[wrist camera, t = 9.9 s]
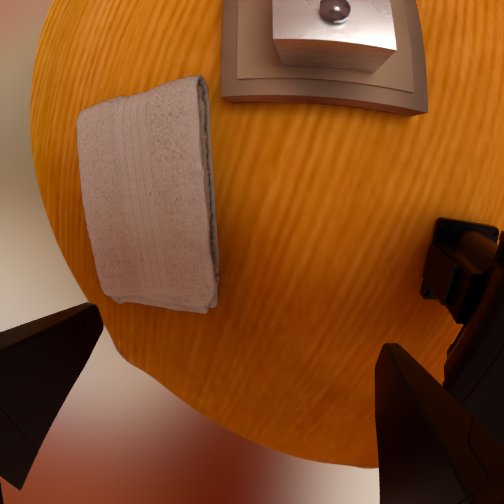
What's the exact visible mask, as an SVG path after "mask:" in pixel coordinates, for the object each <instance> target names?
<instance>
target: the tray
mask: <svg viewBox="0 0 504 504" xmlns="http://www.w3.org/2000/svg"><path fill="white" fill-rule="evenodd" d="M390 5H391V10H392V17H393V23H394V31H395V39H396V48H397V50H396V51H395V52H394V53H393V55H392V56H391V57H390V58H389V59H388V60H387V61H386V62H385V63H384V64H383V65H382V66H381V67H380V68H379V69H378V70H377V71H376V72H375V73H374V74H373V73H367V72H359V71H351V70H342V69H332V68H318V67H295V66H283V64H282V61H281V58H280V56H279V53H278V50H277V48H276V45H275V42H274V40H273V5H272V0H223V20H222V56H221V97H223V98H225V99H227V100H229V101H231V102H233V103H250V102H287V103H312V104H326V105H338V106H348V107H356V108H364V109H372V110H378V111H385V112H390V113H396V114H402V115H407V116H415V115H420V114H424V113H428V99H427V77H426V64H425V54H424V46H423V38H422V31H421V25H420V19H419V14H418V9H417V4H416V0H390Z"/></svg>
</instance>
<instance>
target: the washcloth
mask: <svg viewBox="0 0 504 504" xmlns="http://www.w3.org/2000/svg"><path fill="white" fill-rule="evenodd" d="M209 106H210V104H209V95H208V88H207V84H206V81H205V80H204V78H203V76H202V75H199V76H188V77H187V78H181V79H178V80H173V81H171V82H167V83H165V84H162V85H160V86H158V87H154V88H153V89H151V90H150V91H147V92H143V93H139V94H136V95H132V96H130V97H125V96H120V97H117V98H113V99H111V100H110V99H108V100H107V101H104V102H101V103H98V104H96V105H94V106H91V107H88V108H86V109H85V110H82V112H80V114H79V117H78V119H77V122H76V123H77V144H78V147H77V148H78V155H79V160H80V163H79V168H80V178H81V191H82V204H83V205H84V209H85V219H86V223H87V230H88V232H89V238H90V241H91V247H92V252H93V255H94V259H95V265H96V270H97V271H96V272H97V274H98V275H97V276H98V279H99V280H100V286H101V289H102V290H103V292H104V293H105V295H106V296H110V297H111V298H112V299H113V300H114V301H115V302H117V303H120V304H122V303H124V302H132V303H141V304H144V305H151V306H157V307H162V308H168V309H173V310H180V311H190V312H198V313H202V314H206V313H207V312H208V309H209V308H214V307H216V306H217V304H218V300H217V299H218V295H217V291H218V288H217V286H218V283H219V276H218V275H217V274H218V272H219V269H218V264H219V250H218V235H217V224H216V211H215V195H214V181H213V166H212V154H211V137H210V108H209Z"/></svg>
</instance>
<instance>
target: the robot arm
mask: <svg viewBox="0 0 504 504" xmlns="http://www.w3.org/2000/svg"><path fill="white" fill-rule="evenodd" d="M443 222H444V226H443V227H441V224H442V223H443ZM494 231H495V232H494ZM493 232H494V234H493ZM498 236H499V230H498V228H496V227H495V226H491V225H485V224H480V223H474V222H468V221H462V220H455V219H449V218H439V219H438V220H437V222H436V226H435V231H434V236H433V241H432V245H431V246H430V247H429V252H428V256H427V260H426V264H425V268H424V272H423V278H424V279H423V283H422V286H421V290H420V294H421V296H422V297H423V298H424V299H438V300H439V301H440V303H441V305H443V306H446V308H447V309H448V311H449V312H450V314H451V315H452V317H453V319H454V320H455V322H456V323H457V324H463V327H462V329H461V330H460V332H459V334H458V336H457V337H456V339H455V341H454V343H453V344H451V345H450V347H449V348H448V350H447V360H446V362H445V365H444V377H445V380H444V382H443V383H442V385H443V386H442V385H441V384H440V383H438V382H437V381H436V380H435V379H434V378H433V377H432V376H431V375H430V374H429V373H428V372H427V371H426V370H425V369H424V368H423V367H422V366H421V365H420V364H419V363H418V362H417V361H416V360H415V359H414V358H413V357H412V356H411V355H410V354H409V353H408V352H407V351H405V350H404V349H403V348H402V347H401V346H400V345H399V344H397V343H385V344H384V345H383V346H382V349H381V351H380V354H379V357H378V360H377V362H376V365H375V422H376V433H377V445H378V460H379V482H380V504H504V231H501V234H500V237H499V239H500V242H499V245H498V244H497V240H498ZM426 291H428V292H427V293H426V294H424V293H425V292H426ZM103 327H104V326H103V321H102V318H101V315H100V312H99V308H98V307H97V305H95V304H92V303H88V302H86V303H83V304H80V305H78V306H74V307H72V308H69V309H66V310H63V311H60V312H57V313H54V314H51V315H48V316H46V317H43V318H40V319H37V320H34V321H31V322H28V323H25V324H23V325H20V326H17V327H14V328H11V329H8V330H6V331H3V332H0V476H1V477H2V478H3V479H5V480H6V481H7V482H9V483H10V484H12V485H13V486H14V487H16V488H17V489H18V490H21V489H22V487H23V485H24V483H25V480H26V478H27V476H28V473H29V471H30V469H31V467H32V464H33V462H34V460H35V458H36V456H37V454H38V452H39V449H40V447H41V445H42V443H43V441H44V438H45V437H46V435H47V433H48V431H49V429H50V427H51V425H52V423H53V421H54V419H55V417H56V416H57V414H58V412H59V410H60V408H61V406H62V405H63V403H64V401H65V399H66V397H67V396H68V394H69V392H70V390H71V388H72V387H73V385H74V383H75V382H76V380H77V378H78V377H79V375H80V373H81V371H82V370H83V368H84V367H85V364H86V363H87V361H88V359H89V357H90V355H91V353H92V351H93V349H94V347H95V345H96V343H97V341H98V339H99V337H100V335H101V333H102V331H103ZM0 504H4V503H3V497H2V491H1V483H0Z"/></svg>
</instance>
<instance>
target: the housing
mask: <svg viewBox="0 0 504 504" xmlns="http://www.w3.org/2000/svg"><path fill="white" fill-rule="evenodd" d="M272 5H273V40H274V42H275V45H276V48H277V50H278V53H279V56H280V58H281V61H282V64H283V66H295V67H318V68H332V69H342V70H351V71H359V72H367V73H373V74H374V73H375V72H376V71H377V70H378V69H379V68H380V67H381V66H382V65H383V64H384V63H385V62H386V61H387V60H388V59H389V58H390V57H391V56H392V55H393V53H394V52H395V51H396V50H397V48H396V39H395V31H394V23H393V17H392V10H391V5H390V0H272Z"/></svg>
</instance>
